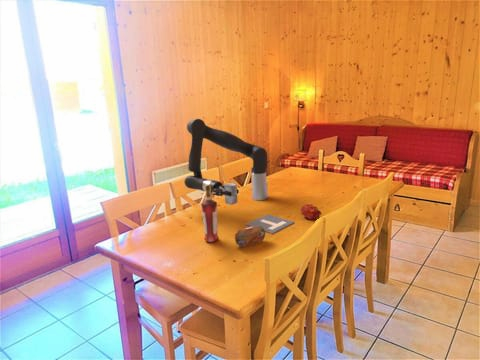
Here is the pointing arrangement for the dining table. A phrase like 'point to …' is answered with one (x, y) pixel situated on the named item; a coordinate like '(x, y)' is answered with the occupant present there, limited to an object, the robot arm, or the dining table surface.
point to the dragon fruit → (310, 211)
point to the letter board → (270, 223)
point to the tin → (250, 236)
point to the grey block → (233, 190)
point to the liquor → (209, 216)
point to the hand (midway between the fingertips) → (234, 192)
